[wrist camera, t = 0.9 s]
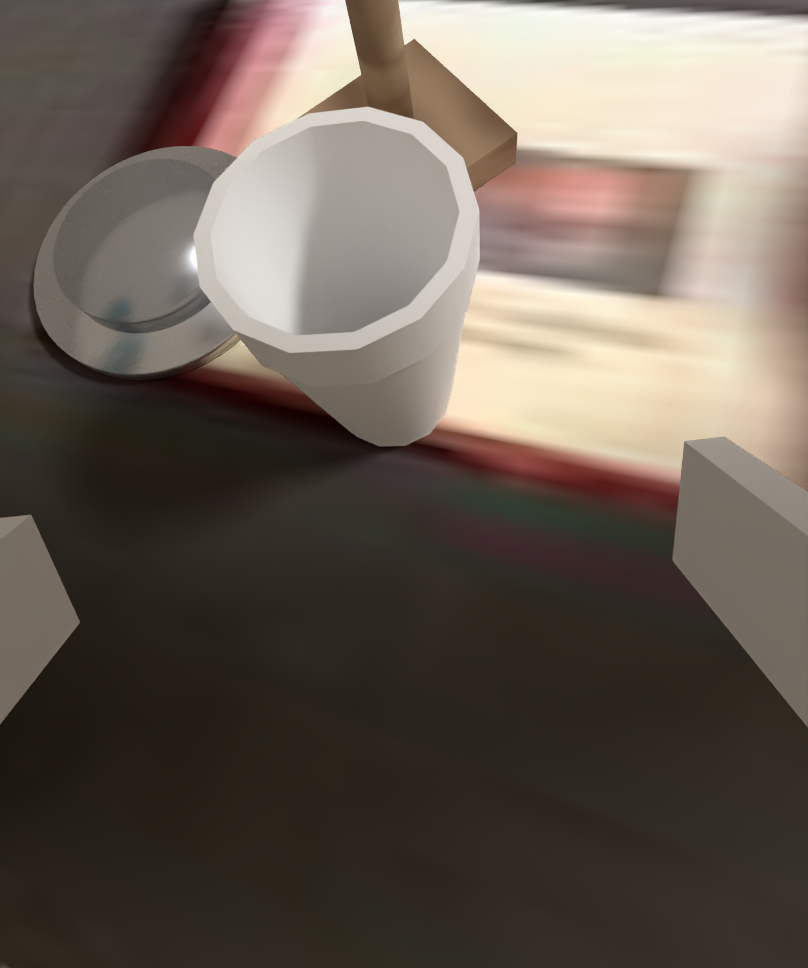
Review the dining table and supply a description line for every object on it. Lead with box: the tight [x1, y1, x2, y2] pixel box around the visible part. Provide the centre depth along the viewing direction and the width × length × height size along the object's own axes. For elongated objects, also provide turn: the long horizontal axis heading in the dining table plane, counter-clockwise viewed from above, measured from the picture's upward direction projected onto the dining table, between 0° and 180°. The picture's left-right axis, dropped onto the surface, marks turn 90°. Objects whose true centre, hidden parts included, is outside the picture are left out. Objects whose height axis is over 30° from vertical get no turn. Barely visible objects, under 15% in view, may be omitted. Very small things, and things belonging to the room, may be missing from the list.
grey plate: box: [34, 146, 241, 380], centre depth 34 cm, size 16×16×2 cm
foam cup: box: [193, 107, 480, 446], centre depth 24 cm, size 10×9×13 cm
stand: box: [299, 0, 517, 191], centre depth 29 cm, size 10×10×12 cm
